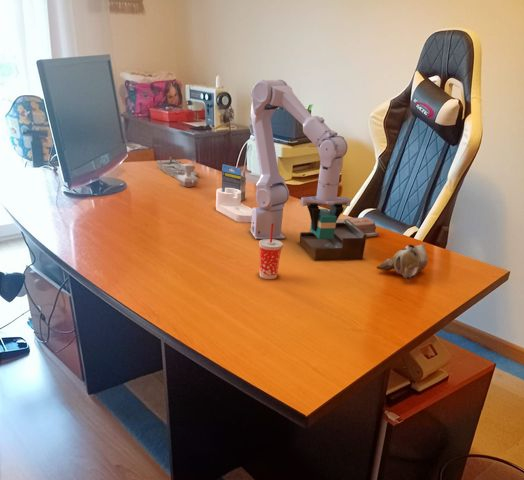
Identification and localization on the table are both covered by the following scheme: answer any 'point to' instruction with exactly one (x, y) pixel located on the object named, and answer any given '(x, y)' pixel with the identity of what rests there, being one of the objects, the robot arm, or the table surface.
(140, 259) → the table surface
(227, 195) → the bracket
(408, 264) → the ceramic sculpture
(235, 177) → the label tape box
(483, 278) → the table surface
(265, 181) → the robot arm
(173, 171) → the architectural model
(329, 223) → the block
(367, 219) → the packaged product
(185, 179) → the stamp
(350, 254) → the step shelf
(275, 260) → the beverage cup
